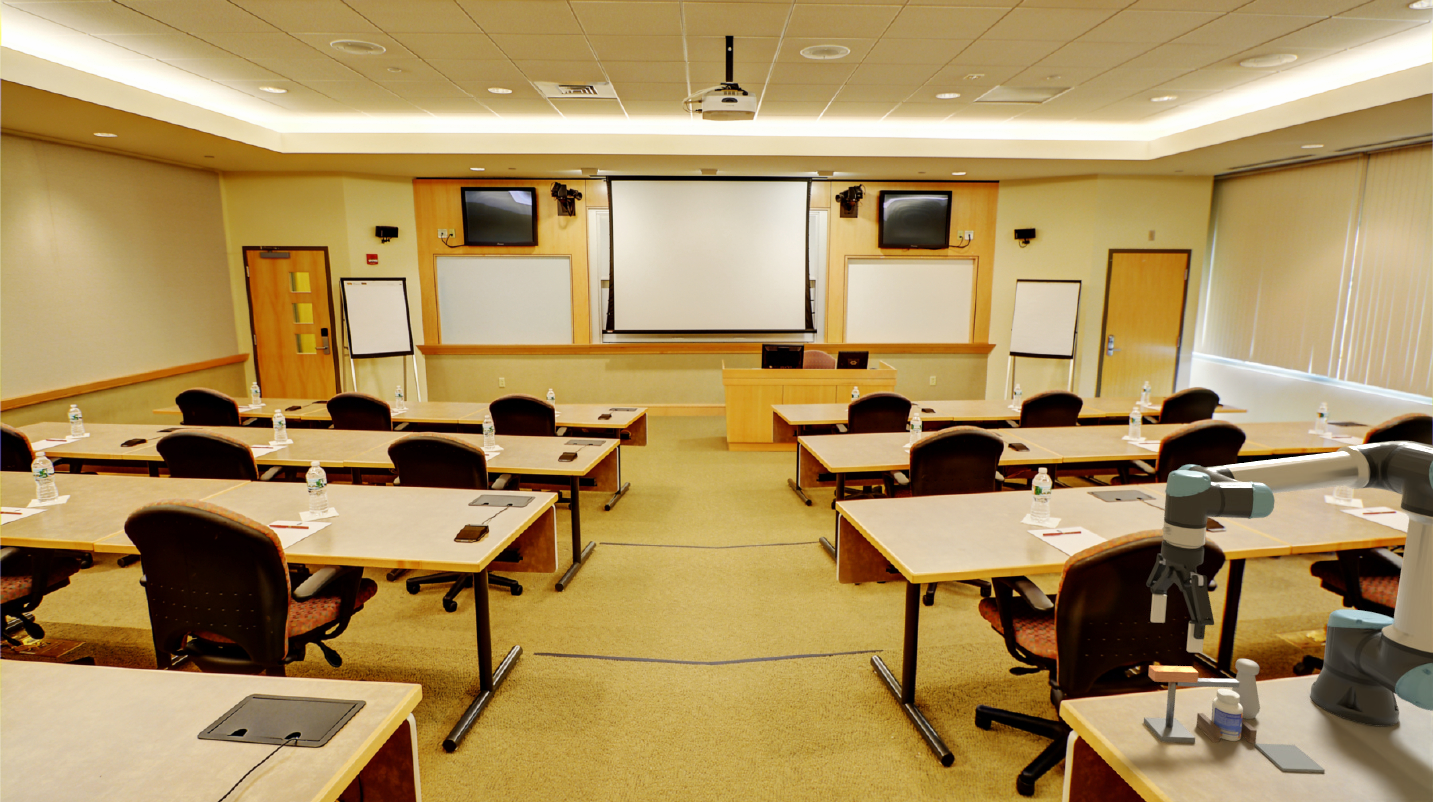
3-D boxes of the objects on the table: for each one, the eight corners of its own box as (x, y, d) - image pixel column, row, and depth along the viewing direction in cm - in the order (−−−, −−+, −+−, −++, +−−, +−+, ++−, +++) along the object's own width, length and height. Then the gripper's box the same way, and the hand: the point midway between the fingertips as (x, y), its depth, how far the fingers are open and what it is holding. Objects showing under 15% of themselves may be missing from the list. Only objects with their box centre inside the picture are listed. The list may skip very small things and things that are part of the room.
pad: (1294, 747, 145) (1294, 744, 145) (1324, 772, 137) (1324, 769, 137) (1254, 745, 146) (1255, 743, 145) (1282, 770, 138) (1283, 768, 138)
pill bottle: (1246, 742, 147) (1249, 701, 145) (1218, 740, 148) (1221, 698, 146) (1232, 727, 152) (1236, 687, 151) (1205, 725, 153) (1208, 685, 152)
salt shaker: (1257, 711, 158) (1262, 659, 156) (1260, 724, 153) (1266, 670, 151) (1226, 703, 161) (1230, 652, 159) (1228, 716, 156) (1233, 663, 154)
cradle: (1236, 726, 152) (1237, 713, 152) (1255, 743, 146) (1256, 730, 146) (1196, 724, 153) (1197, 712, 153) (1213, 741, 147) (1214, 728, 147)
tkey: (1229, 724, 151) (1234, 667, 149) (1236, 731, 148) (1242, 673, 146) (1145, 721, 152) (1149, 665, 150) (1151, 728, 150) (1155, 671, 148)
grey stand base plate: (1175, 723, 154) (1176, 718, 154) (1194, 742, 147) (1195, 737, 147) (1143, 722, 154) (1144, 717, 154) (1161, 741, 148) (1161, 736, 147)
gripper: (1133, 524, 158) (1127, 610, 160) (1201, 563, 133) (1192, 664, 136) (1167, 524, 157) (1160, 611, 160) (1241, 564, 132) (1231, 666, 135)
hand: (1175, 636), depth 148 cm, fingers open, 13 cm apart
